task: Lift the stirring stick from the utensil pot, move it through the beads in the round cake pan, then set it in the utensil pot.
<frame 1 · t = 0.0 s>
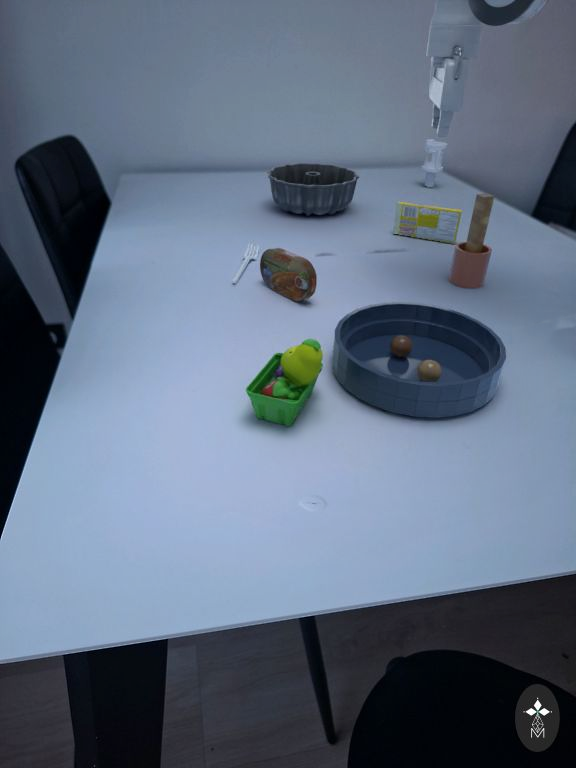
hand: (438, 132, 100), 29 cm above the table, tool pointing down, fingers open, 8 cm apart
fruit basket: (289, 407, 76), on the table
stirring stick: (466, 281, 114), point 1 cm above the table, touching utensil pot
white tall piece: (428, 187, 183), on the table
bead b: (401, 346, 87), point 2 cm above the table, touching round cake pan
bundt pan: (311, 208, 159), on the table
round cake pan: (412, 371, 85), on the table
utensil pot: (465, 283, 114), on the table
tin: (287, 294, 108), on the table
fork: (244, 267, 119), on the table
bead a: (429, 371, 80), point 2 cm above the table, touching round cake pan
candy box: (423, 239, 138), on the table
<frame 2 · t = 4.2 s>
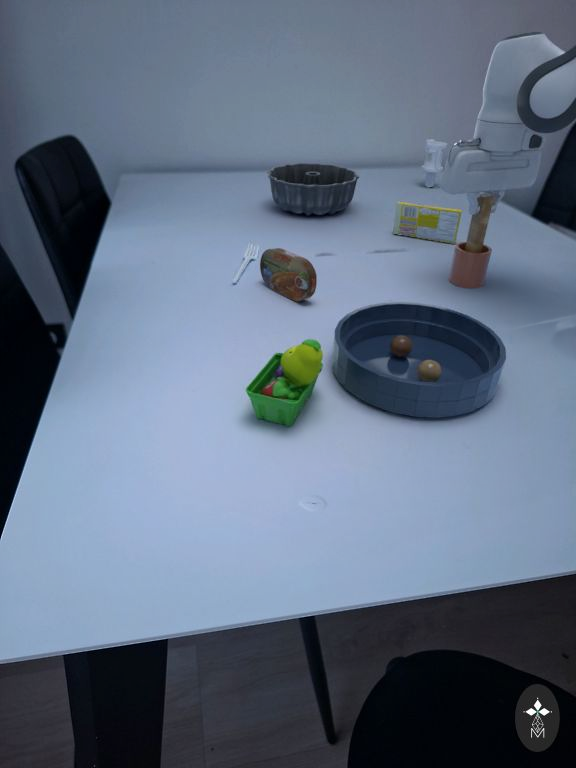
hand: (481, 213, 106), 15 cm above the table, tool pointing down, fingers closed on stirring stick, 2 cm apart
stirring stick: (466, 281, 114), point 1 cm above the table, touching gripper, utensil pot
everything else where it was.
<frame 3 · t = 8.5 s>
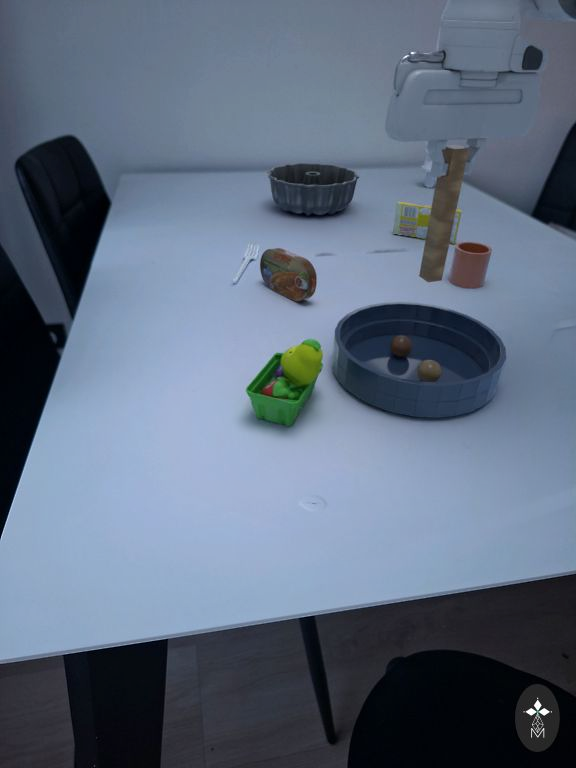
hand: (450, 175, 70), 29 cm above the table, tool pointing down, fingers closed on stirring stick, 2 cm apart
stirring stick: (430, 278, 78), point 15 cm above the table, touching gripper
everything else where it was.
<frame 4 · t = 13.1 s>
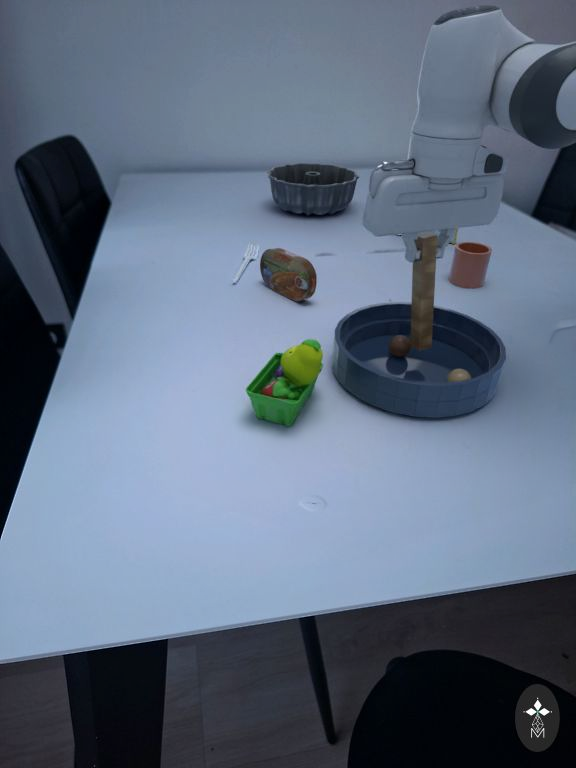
hand: (423, 259, 77), 18 cm above the table, tool pointing down, fingers closed on stirring stick, 2 cm apart
stirring stick: (420, 346, 85), point 3 cm above the table, tilted 7°, touching bead b, gripper
bead b: (399, 346, 87), point 2 cm above the table, tilted 7°, touching round cake pan, stirring stick
bead a: (458, 380, 78), point 2 cm above the table, tilted 144°, touching round cake pan
everything else where it was.
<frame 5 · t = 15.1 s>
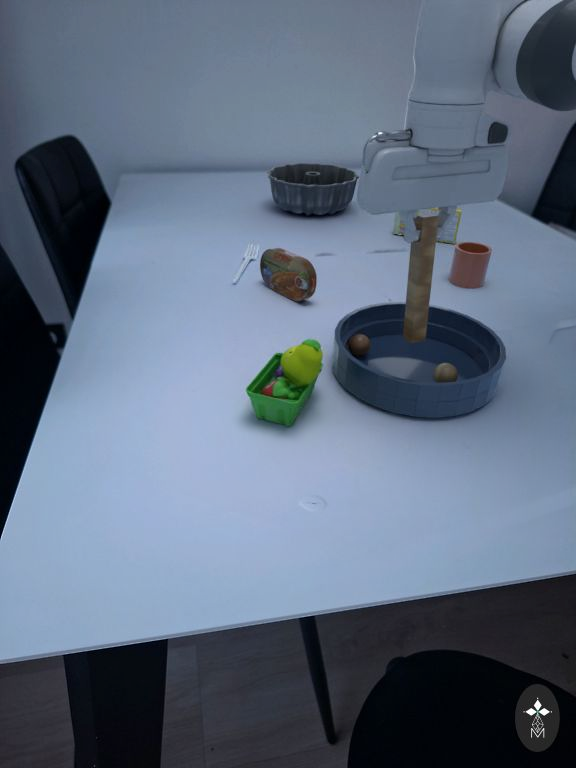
hand: (423, 239, 72), 22 cm above the table, tool pointing down, fingers closed on stirring stick, 2 cm apart
stirring stick: (413, 338, 79), point 7 cm above the table, tilted 6°, touching gripper
bead b: (359, 345, 87), point 2 cm above the table, tilted 144°, touching round cake pan
bead a: (445, 374, 80), point 2 cm above the table, tilted 73°, touching round cake pan
everything else where it was.
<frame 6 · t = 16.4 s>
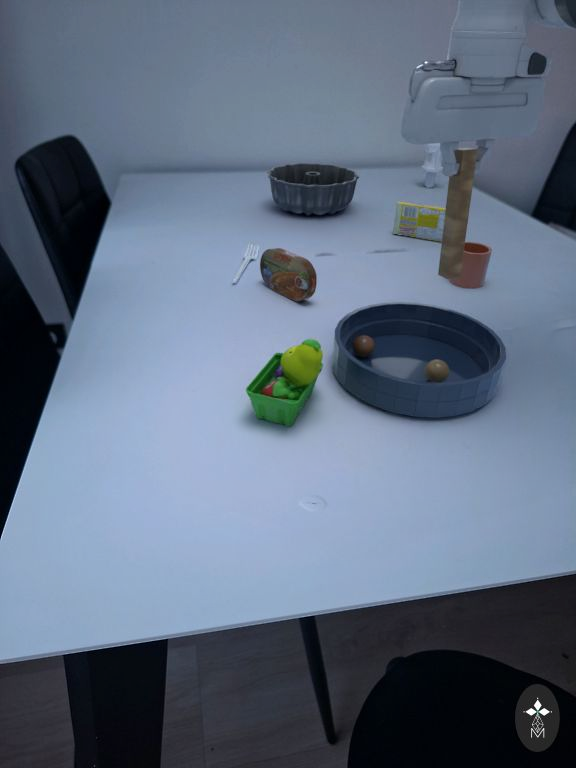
hand: (461, 174, 75), 28 cm above the table, tool pointing down, fingers closed on stirring stick, 2 cm apart
stirring stick: (449, 275, 82), point 14 cm above the table, tilted 6°, touching gripper
bead b: (363, 346, 86), point 2 cm above the table, tilted 162°, touching round cake pan
bead a: (436, 371, 81), point 2 cm above the table, tilted 28°, touching round cake pan
everything else where it was.
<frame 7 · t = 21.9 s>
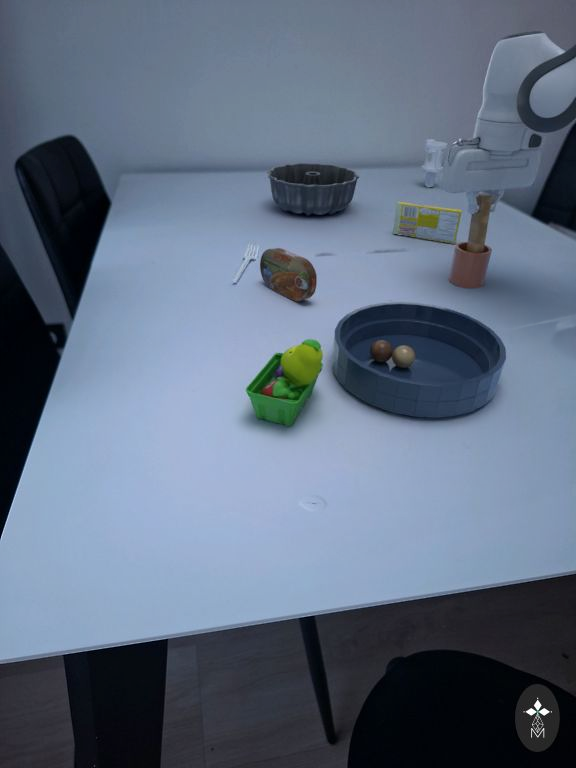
hand: (480, 212, 106), 15 cm above the table, tool pointing down, fingers closed on stirring stick, 2 cm apart
stirring stick: (469, 283, 113), point 1 cm above the table, tilted 6°, touching gripper, utensil pot
bead b: (381, 351, 85), point 2 cm above the table, tilted 92°, touching round cake pan
bead a: (403, 356, 84), point 2 cm above the table, tilted 162°, touching round cake pan
everything else where it was.
when the fingers open (15 cm above the table, at t = 21.9 s): stirring stick stays where it is, resting on utensil pot.
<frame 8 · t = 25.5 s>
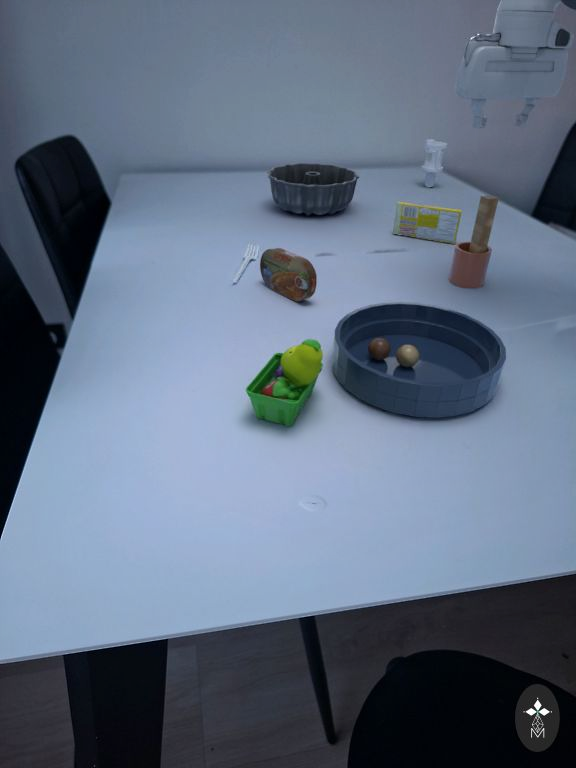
hand: (499, 126, 95), 31 cm above the table, tool pointing down, fingers open, 8 cm apart
stirring stick: (469, 283, 113), point 1 cm above the table, touching utensil pot
bead b: (379, 349, 86), point 2 cm above the table, tilted 113°, touching round cake pan
bead a: (407, 355, 84), point 2 cm above the table, tilted 144°, touching round cake pan
everything else where it was.
at the end: bead a moved 5.1 cm from its start; bead a inside the target area in the round cake pan (1.2 cm from its centre), point 2.4 cm above the round cake pan's base; stirring stick 1.3 cm off-centre in the utensil pot, point 0.6 cm above the utensil pot's base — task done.
